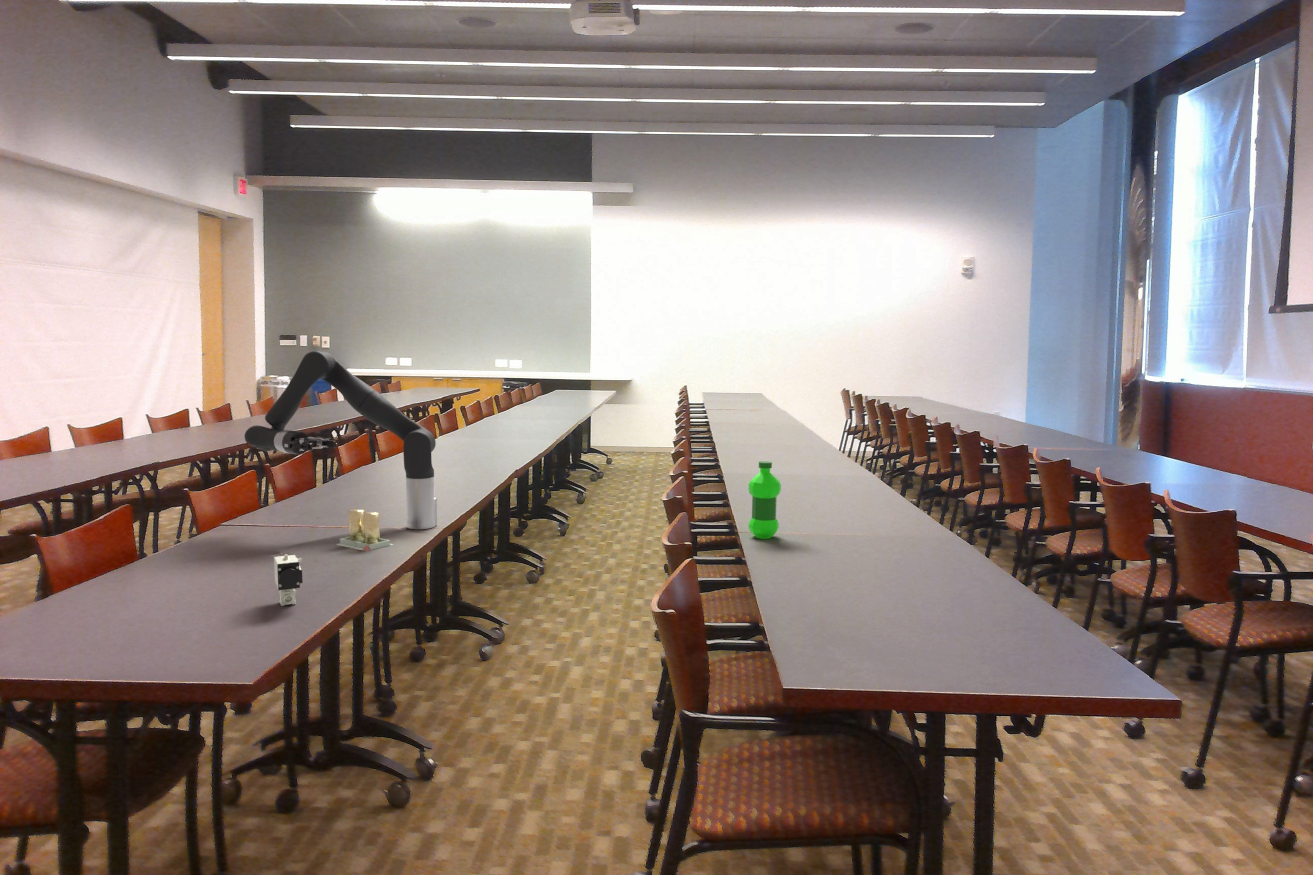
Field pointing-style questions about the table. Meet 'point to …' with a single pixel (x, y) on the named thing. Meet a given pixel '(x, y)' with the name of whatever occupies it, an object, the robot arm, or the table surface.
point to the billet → (356, 524)
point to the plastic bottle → (764, 502)
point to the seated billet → (371, 527)
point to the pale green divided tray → (363, 544)
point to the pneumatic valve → (287, 577)
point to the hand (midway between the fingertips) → (323, 445)
